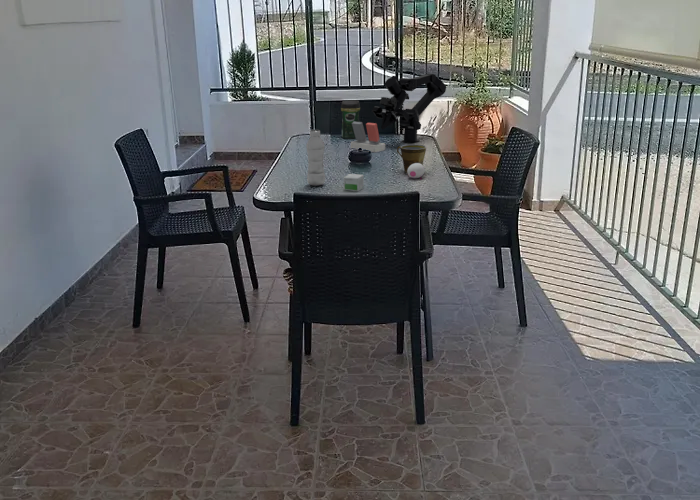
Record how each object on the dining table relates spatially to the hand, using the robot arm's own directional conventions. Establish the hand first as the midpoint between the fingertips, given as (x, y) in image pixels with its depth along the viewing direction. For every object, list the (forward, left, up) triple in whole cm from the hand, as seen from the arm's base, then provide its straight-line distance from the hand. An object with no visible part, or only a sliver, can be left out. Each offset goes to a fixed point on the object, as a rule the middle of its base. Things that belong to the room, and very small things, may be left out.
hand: (382, 128), depth 296 cm
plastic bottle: (+68, +25, -9) cm, 73 cm away
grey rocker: (+6, -8, -5) cm, 11 cm away
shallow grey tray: (+6, -4, -9) cm, 11 cm away
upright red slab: (+6, 0, -5) cm, 7 cm away
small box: (+63, +39, -9) cm, 74 cm away
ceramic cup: (+29, +38, -9) cm, 48 cm away
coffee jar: (-11, -30, -9) cm, 33 cm away
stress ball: (+36, +46, -9) cm, 59 cm away
